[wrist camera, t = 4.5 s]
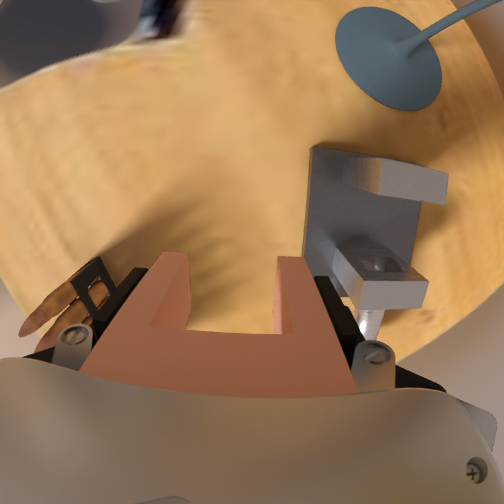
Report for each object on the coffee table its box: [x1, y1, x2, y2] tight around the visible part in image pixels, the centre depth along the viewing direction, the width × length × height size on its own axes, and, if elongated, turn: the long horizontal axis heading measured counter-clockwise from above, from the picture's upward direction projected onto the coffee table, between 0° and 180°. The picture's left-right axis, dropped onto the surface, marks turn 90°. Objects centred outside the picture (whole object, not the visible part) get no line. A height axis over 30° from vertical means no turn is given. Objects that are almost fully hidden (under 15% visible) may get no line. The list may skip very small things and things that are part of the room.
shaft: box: [353, 270, 385, 340], centre depth 20 cm, size 9×4×4 cm, turn 178°
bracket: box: [301, 147, 449, 310], centre depth 18 cm, size 12×10×8 cm
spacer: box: [79, 251, 358, 397], centre depth 9 cm, size 3×6×8 cm, turn 88°
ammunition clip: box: [18, 257, 117, 353], centre depth 19 cm, size 11×2×12 cm, turn 23°
